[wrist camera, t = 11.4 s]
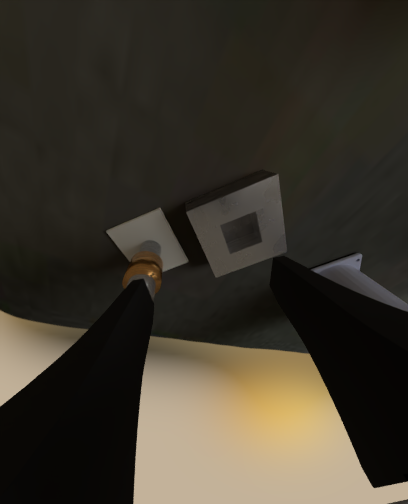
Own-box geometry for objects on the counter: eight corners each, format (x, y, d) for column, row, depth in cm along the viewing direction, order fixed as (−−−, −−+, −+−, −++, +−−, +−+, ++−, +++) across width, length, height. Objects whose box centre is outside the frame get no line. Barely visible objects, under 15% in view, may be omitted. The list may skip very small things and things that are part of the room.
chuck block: (273, 238, 20) (287, 251, 18) (211, 261, 21) (215, 277, 18) (262, 169, 16) (278, 174, 13) (185, 202, 17) (185, 212, 14)
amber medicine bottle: (168, 242, 18) (164, 288, 13) (159, 263, 20) (152, 313, 14) (141, 232, 17) (122, 277, 12) (133, 255, 19) (113, 306, 13)
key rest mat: (188, 260, 20) (188, 261, 20) (144, 277, 21) (143, 279, 21) (160, 207, 17) (159, 208, 16) (107, 229, 17) (105, 231, 17)
